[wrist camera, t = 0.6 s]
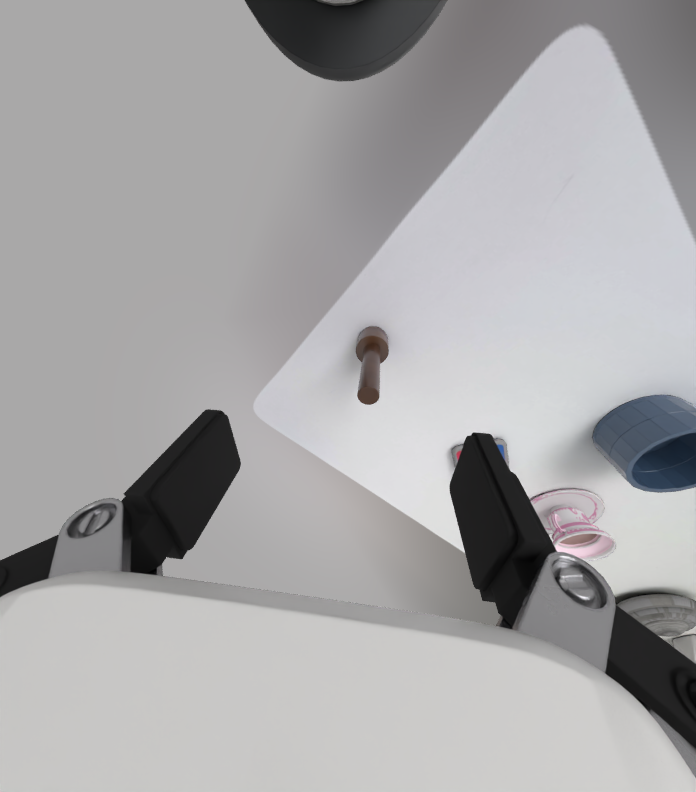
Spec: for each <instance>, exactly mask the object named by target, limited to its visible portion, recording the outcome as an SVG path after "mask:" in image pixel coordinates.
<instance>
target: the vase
mask: <svg viewBox="0 0 696 792" xmlns="http://www.w3.org/2000/svg"><path fill="white" fill-rule="evenodd" d="M673 645H674V648H675V649H677V650H678V651H679V652H681V653H682V654H683V655H685V656H686V657H687V658H689V659H690V660H691V661H693V662H694V663H695V664H696V635H689V636H684V637H680V638H676V639H673Z"/></svg>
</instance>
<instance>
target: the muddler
mask: <svg viewBox="0 0 696 792" xmlns="http://www.w3.org/2000/svg"><path fill="white" fill-rule="evenodd" d="M388 352H389V349H388V337H387V334H386V333H385V331H384V330H382V329H381V328H379V327H368V328H366V329H364V330H363V331H362V332H361V333H360V335H359V337H358V342H357V346H356V354H357V357H358V359H359V360H360V361H361V362H362V367H361V374H360V381H359V387H358V394H357V396H358V399H359V400H360V401H361V402H362V403H364V404H367V405H370V404H374V403H375V402H377V401H378V399H379V389H380V364H381V363H382V362H383V361H384V360H385V359H386V358H387V356H388Z"/></svg>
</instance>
